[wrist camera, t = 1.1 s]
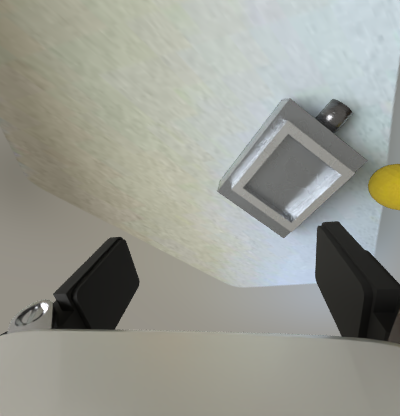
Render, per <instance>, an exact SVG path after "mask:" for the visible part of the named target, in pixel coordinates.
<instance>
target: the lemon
mask: <svg viewBox="0 0 400 416" xmlns="http://www.w3.org/2000/svg"><path fill="white" fill-rule="evenodd" d="M368 188H369V192H370V194H371V196H372V198H373V199H375V200H376V201H377V202H378V203H379V204H381V205H383V206H385V207H388V208H391V209H396V210H400V164H393V165H388V166H385V167H382V168H381V169H379V170H377V171H376V172H375V173H374V174H373V175H372V176H371V178H370V180H369V184H368Z"/></svg>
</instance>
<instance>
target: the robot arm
mask: <svg viewBox="0 0 400 416" xmlns="http://www.w3.org/2000/svg"><path fill="white" fill-rule="evenodd" d="M315 277H316V282H317V284H318V286H319V288H320V291H321V293H322V295H323V297H324V299H325V301H326V304H327V306H328V308H329V310H330V312H331V314H332V316H333V318H334V320H335V323H336V325H337V327H338V329H339V331H340V334H341V336H342V337H339V336H324V335H299V334H272V333H239V332H203V331H202V332H201V331H161V330H160V331H159V330H115V328H116V326H117V324H118V323H119V321H120V319H121V317H122V315H123V314H124V312H125V310H126V308H127V306H128V305H129V303H130V301H131V299H132V297H133V296H134V294H135V292H136V290H137V288H138V286H139V278H138V275H137V272H136V269H135V266H134V263H133V260H132V257H131V254H130V251H129V249H128V246H127V243H126V241H125V240H123V238H121V237H113V238H109V239H108V240H107V241H106V242H105V243H104V244H103V245H102V246H101V247H100V248H99V249H98V250H97V251H96V252H95V253H94V254H93V255H92V256H91V257H90V258H89V259H88V260H87V261H86V262H85V263H84V264H83V265H82V266H81V267H80V268H79V269H78V270H77V271H76V272H75V273H74V274H73V275H72V276H71V277H70V278H69V279H68V280H67V281H66V282H65V283H64V284H63V285H62V286H61V287H60V288H59V289H58V290H57V291H56V292H55V293H54V294H53V295H54V297H55V298H56V301H55V302H54V303H53V302H52V301H50V300H41V301H38V302H35V303H33V304H31V305H29V306H27V307H26V308H24V309H23V310H21V311H20V312H19V313H18V314H17V315H16V316H15V317H14V318H13V319H12V321H11V323H10V325H9V329H8V331H7V332H5V333H3V334H1V335H0V416H400V284H399V283H398V282H397V281H396V280H395V279H394V278H393V277H392V276H391V275H390V273H388V271H387V270H386V269H385V268H384V267H383V266H382V265H381V264H380V263H379V262H378V261H377V260H376V259H375V258H374V256H373V255H372V254H371V253H370V252H368V251H366V250H364V249H363V248H362V247H361V246H360V245H359V244H358V242H357V241H356V240H355V239H354V238H353V237H352V236H351V235H350V234H349V233H348V232H347V231H346V229H345V228H344V227H343V226H342V225H341V224H340V223H339V222H338V221H335V222H323V223H322V226H318V228H317V246H316V270H315Z"/></svg>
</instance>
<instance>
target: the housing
mask: <svg viewBox="0 0 400 416" xmlns="http://www.w3.org/2000/svg"><path fill="white" fill-rule="evenodd" d="M352 114H353V113H352V111H351V110H350V109H349V108H348V107H347V106H346V105H344V104H343V103H341V102H339V101H337V100H334V99H332V100H331V101H330V102H329V103H328V104H327V105H326V107H325V108H324V109H323V110H322V111H321V112H320V114H319V115H318V116H317V117H316V118H314V117H312V116H311V115H310V114H309V113H307V112H306V111H305V110H304V109H302V108H301V107H300V106H299V105H298V104H296V103H295V102H294V101H293V100H291V99H284V100H281V102H280V103H279V104H278V106H277V107H276V108H275V110H274V111H273V112H272V113H271V115H270V116H269V117H268V119H267V120H266V121H265V123H264V124H263V125H262V127H261V128H260V129H259V130H258V132H257V133H256V134H255V136H254V137H253V138H252V140H251V141H250V142H249V144H248V145H247V146H246V147H245V149H244V150H243V151H242V153H241V154H240V155H239V157H238V158H237V159H236V161H235V162H234V163H233V164H232V166H231V167H230V168H229V170H228V171H227V172H226V174H225V175H224V176H223V178H222V179H221V180H220V183H219V187H218V191H217V192H219V193H220V194H222V195H223V196H225V197H226V198H227V199H229V200H230V201H232V202H233V203H234V204H236V205H237V206H239V207H240V208H242V209H243V210H244V211H246V212H247V213H249V214H250V215H252V216H253V217H254V218H256V219H257V220H259V221H260V222H261V223H263V224H264V225H266V226H267V227H269V228H270V229H271V230H273V231H274V232H276V233H277V234H279V235H280V236H281V237H283V238H285V237H286V236H287V235H288V234H289V233H290V232H292V231H293V230H295V229H296V228H297V227H298V226H299V225H300V224H301V223H302V222H303V221H304V220H305V219H306V218H308V217H309V216H310V215H311V214H312V213H313V212H314V211H315V210H316V209H317V208H318V207H319V206H321V205H322V204H323V203H324V202H325V201H326V200H327V199H328V198H329V197H330V196H331V195H332V194H333V193H335V192H336V191H337V190H338V189H339V188H340V187H341V186H342V185H343V184H344V183H345V182H346V181H348V180H349V179H350V178H351V177H352V176H353V175H354V174H355V172H356V171H357V170H358V169H359V168H360V167H361V166H362V165H363V164H364V163H366V162H367V160H366V159H365V158H364V157H362V156H361V155H360V154H359V153H357V152H356V151H355V150H354V149H352V148H351V147H350V146H349V145H347V144H346V143H345V142H344V141H342V140H341V139H340V138H339V137H337V136H336V135H335V134H334V133H335V132H336V131H337V130H338V129H339V128H340V127H341V126H342V125H343V124H344V123H345V122H346V121H347V119H348V118H349V117H350V116H351V115H352Z"/></svg>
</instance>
